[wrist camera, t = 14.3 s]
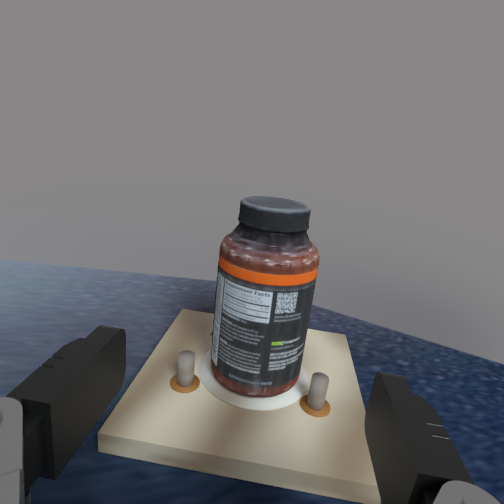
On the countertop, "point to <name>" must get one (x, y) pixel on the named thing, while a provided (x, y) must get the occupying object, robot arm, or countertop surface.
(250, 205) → the supplement bottle
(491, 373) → the countertop surface
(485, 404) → the countertop surface
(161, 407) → the pin board
